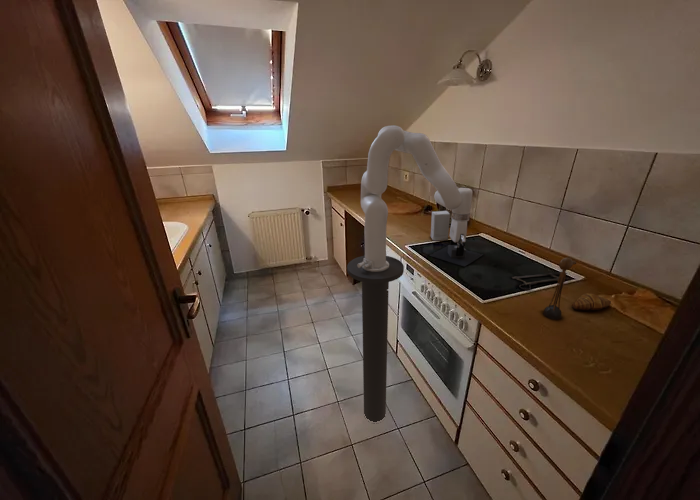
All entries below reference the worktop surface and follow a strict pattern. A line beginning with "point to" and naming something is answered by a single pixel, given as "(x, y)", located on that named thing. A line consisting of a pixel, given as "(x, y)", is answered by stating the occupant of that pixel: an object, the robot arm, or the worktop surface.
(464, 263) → the mat
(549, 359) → the worktop surface
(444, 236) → the cosmetic box
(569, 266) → the wooden tabletop sculpture
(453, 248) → the tape measure
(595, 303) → the croissant
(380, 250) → the robot arm
